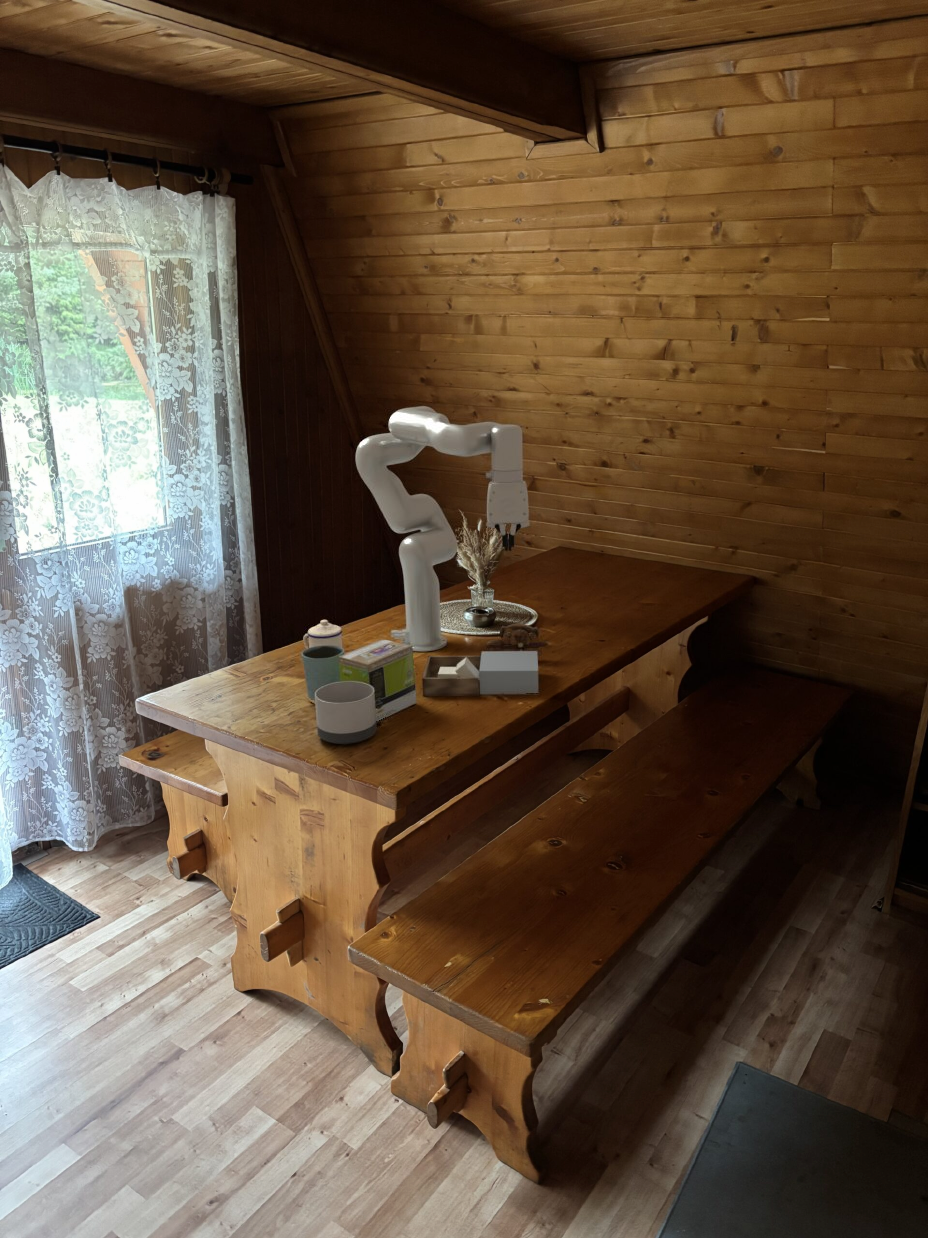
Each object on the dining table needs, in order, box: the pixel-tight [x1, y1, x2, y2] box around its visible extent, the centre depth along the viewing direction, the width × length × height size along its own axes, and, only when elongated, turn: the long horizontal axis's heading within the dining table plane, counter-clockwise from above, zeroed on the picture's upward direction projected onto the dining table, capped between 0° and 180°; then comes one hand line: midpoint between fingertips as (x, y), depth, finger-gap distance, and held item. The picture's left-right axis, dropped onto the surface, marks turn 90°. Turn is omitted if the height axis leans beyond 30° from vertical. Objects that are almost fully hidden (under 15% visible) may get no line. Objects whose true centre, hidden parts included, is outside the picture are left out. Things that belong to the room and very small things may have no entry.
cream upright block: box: [455, 657, 479, 678], centre depth 236 cm, size 5×5×3 cm
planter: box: [314, 681, 378, 745], centre depth 208 cm, size 13×13×10 cm
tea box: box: [339, 638, 418, 722], centre depth 221 cm, size 15×10×15 cm, turn 141°
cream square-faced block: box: [438, 667, 461, 678], centre depth 237 cm, size 5×5×3 cm
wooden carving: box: [485, 623, 550, 658], centre depth 250 cm, size 16×5×10 cm, turn 89°
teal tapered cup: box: [301, 645, 345, 701], centre depth 229 cm, size 10×10×12 cm
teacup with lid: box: [302, 619, 343, 649], centre depth 254 cm, size 12×9×12 cm
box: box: [421, 655, 481, 697], centre depth 237 cm, size 13×16×4 cm
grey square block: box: [479, 650, 539, 695], centre depth 236 cm, size 14×14×6 cm
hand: (508, 549), depth 239 cm, fingers closed
